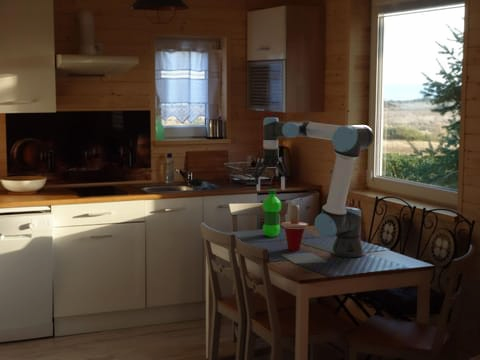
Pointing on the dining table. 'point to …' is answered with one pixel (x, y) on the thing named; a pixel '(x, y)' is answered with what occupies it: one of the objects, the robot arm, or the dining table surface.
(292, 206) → the lid
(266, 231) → the plastic bottle
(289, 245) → the plastic cup
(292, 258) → the mat
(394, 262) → the dining table surface
